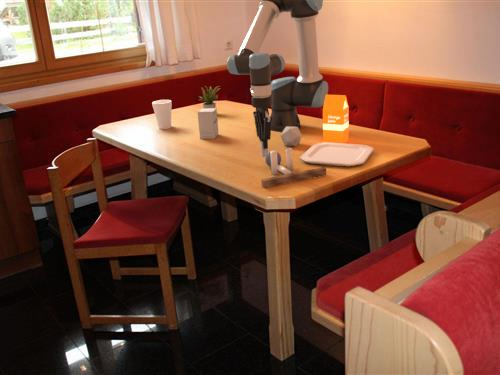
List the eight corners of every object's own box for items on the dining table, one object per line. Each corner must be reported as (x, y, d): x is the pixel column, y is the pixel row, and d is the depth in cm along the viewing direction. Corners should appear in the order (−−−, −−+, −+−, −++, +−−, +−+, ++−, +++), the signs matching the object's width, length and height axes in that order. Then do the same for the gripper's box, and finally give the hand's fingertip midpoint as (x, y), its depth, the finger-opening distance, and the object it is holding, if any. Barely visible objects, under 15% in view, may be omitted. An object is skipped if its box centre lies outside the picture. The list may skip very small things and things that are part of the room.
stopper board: (323, 173, 187) (323, 167, 186) (326, 175, 185) (326, 168, 184) (261, 186, 179) (261, 179, 178) (264, 188, 177) (263, 181, 176)
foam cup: (152, 129, 262) (148, 103, 257) (161, 124, 270) (158, 99, 265) (168, 130, 258) (165, 104, 254) (177, 125, 266) (174, 99, 261)
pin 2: (291, 169, 193) (290, 147, 190) (294, 171, 191) (293, 149, 188) (285, 170, 193) (284, 148, 189) (288, 172, 190) (287, 150, 187)
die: (290, 150, 217) (303, 131, 215) (274, 139, 219) (287, 120, 217) (295, 152, 224) (308, 133, 222) (279, 140, 227) (292, 122, 225)
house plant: (230, 112, 286) (227, 82, 280) (218, 118, 274) (216, 87, 268) (207, 111, 292) (204, 81, 286) (194, 117, 280) (191, 86, 274)
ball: (285, 157, 193) (282, 169, 197) (279, 147, 197) (275, 159, 201) (270, 159, 191) (267, 171, 195) (264, 148, 195) (261, 160, 199)
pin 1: (276, 172, 191) (275, 150, 188) (279, 174, 189) (278, 151, 186) (270, 173, 191) (269, 151, 187) (273, 175, 188) (272, 152, 185)
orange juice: (329, 138, 228) (328, 92, 221) (348, 139, 224) (349, 93, 217) (322, 143, 222) (322, 96, 214) (343, 145, 218) (343, 97, 210)
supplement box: (215, 138, 238) (212, 111, 234) (199, 139, 240) (196, 111, 235) (219, 134, 245) (216, 107, 240) (204, 134, 246) (201, 108, 242)
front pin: (282, 164, 193) (292, 171, 185) (282, 170, 194) (292, 177, 186) (277, 164, 192) (286, 171, 184) (276, 170, 193) (286, 177, 185)
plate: (361, 170, 188) (361, 165, 188) (296, 165, 199) (296, 159, 198) (376, 150, 209) (376, 145, 208) (316, 146, 219) (316, 141, 219)
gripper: (245, 94, 200) (249, 153, 209) (258, 100, 189) (262, 162, 197) (263, 91, 203) (266, 150, 211) (277, 97, 191) (280, 158, 200)
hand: (264, 155), depth 204 cm, fingers closed
